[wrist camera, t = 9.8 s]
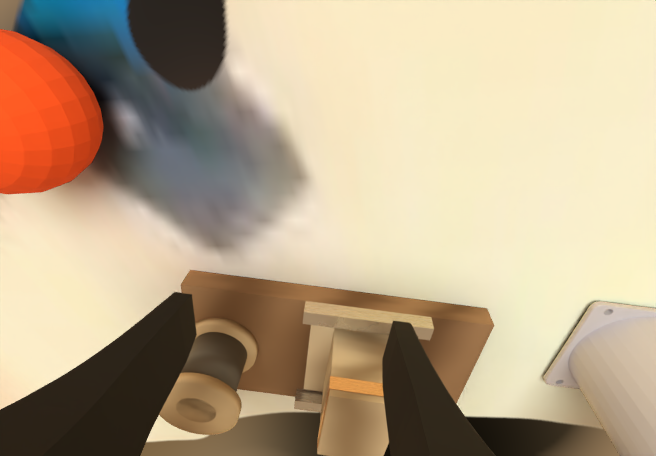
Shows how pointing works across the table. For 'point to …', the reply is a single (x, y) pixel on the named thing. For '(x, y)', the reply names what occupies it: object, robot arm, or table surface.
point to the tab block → (354, 396)
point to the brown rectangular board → (331, 330)
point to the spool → (211, 378)
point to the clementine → (43, 117)
